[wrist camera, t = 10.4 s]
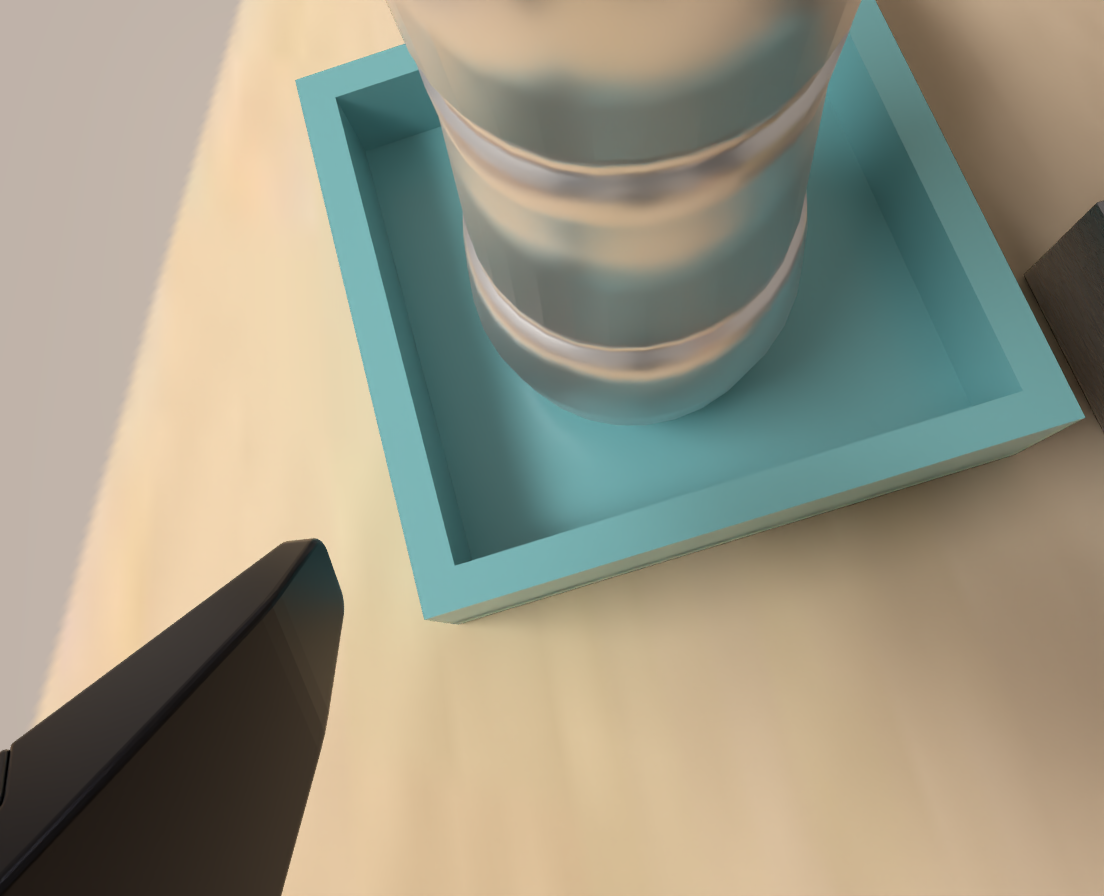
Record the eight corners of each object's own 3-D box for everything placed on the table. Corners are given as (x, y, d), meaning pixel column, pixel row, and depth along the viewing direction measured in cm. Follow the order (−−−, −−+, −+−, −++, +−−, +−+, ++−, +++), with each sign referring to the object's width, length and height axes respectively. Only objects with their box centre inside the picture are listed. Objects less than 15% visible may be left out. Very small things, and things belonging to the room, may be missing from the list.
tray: (458, 624, 17) (424, 619, 15) (340, 153, 21) (295, 79, 18) (1015, 454, 17) (1085, 417, 14) (802, 2, 20) (826, -96, 18)
